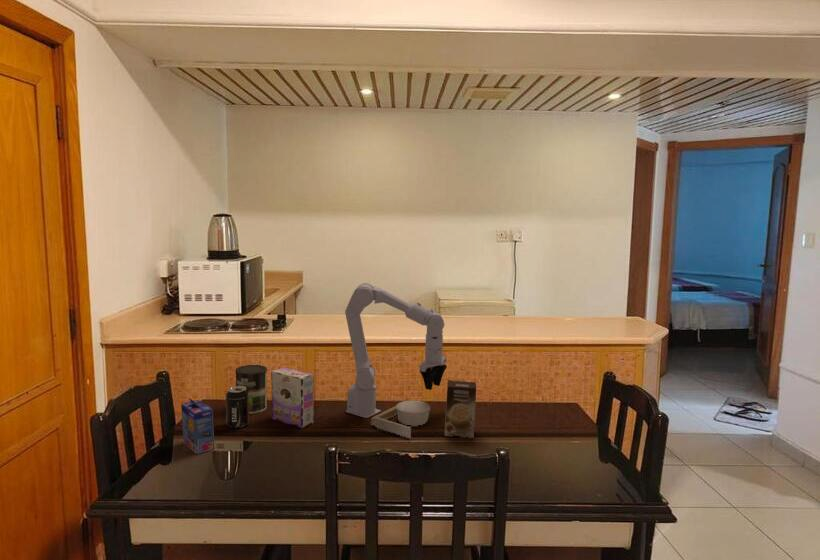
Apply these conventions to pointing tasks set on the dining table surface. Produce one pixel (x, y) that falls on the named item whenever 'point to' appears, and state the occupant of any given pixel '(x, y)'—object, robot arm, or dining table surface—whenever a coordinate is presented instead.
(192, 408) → the ink cartridge box
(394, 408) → the oak rail
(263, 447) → the dining table surface
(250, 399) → the coffee can
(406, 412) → the ramekin
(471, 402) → the coffee box
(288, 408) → the candy box
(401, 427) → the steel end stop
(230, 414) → the beverage can
